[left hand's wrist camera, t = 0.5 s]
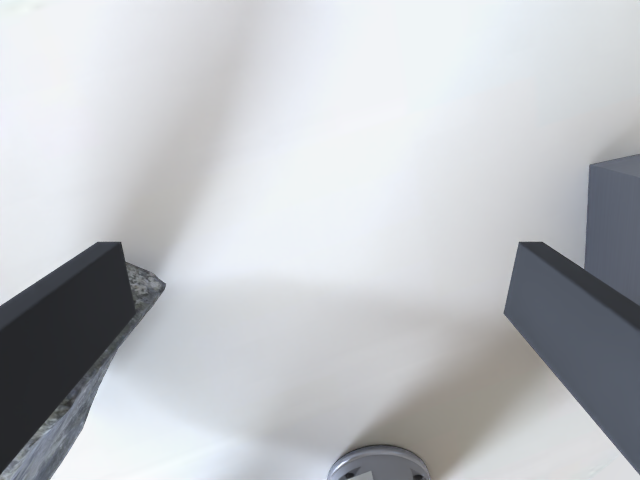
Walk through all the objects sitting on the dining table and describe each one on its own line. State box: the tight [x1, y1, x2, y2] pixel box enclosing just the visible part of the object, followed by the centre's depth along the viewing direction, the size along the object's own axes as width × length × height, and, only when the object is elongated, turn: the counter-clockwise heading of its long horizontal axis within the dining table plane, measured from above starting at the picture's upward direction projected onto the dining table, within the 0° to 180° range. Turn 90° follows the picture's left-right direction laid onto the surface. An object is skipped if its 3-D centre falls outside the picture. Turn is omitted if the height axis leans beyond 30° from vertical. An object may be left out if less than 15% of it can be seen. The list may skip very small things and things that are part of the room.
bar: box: [585, 154, 640, 306], centre depth 38 cm, size 26×6×8 cm, turn 13°
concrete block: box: [0, 262, 166, 480], centre depth 35 cm, size 27×9×20 cm, turn 145°
